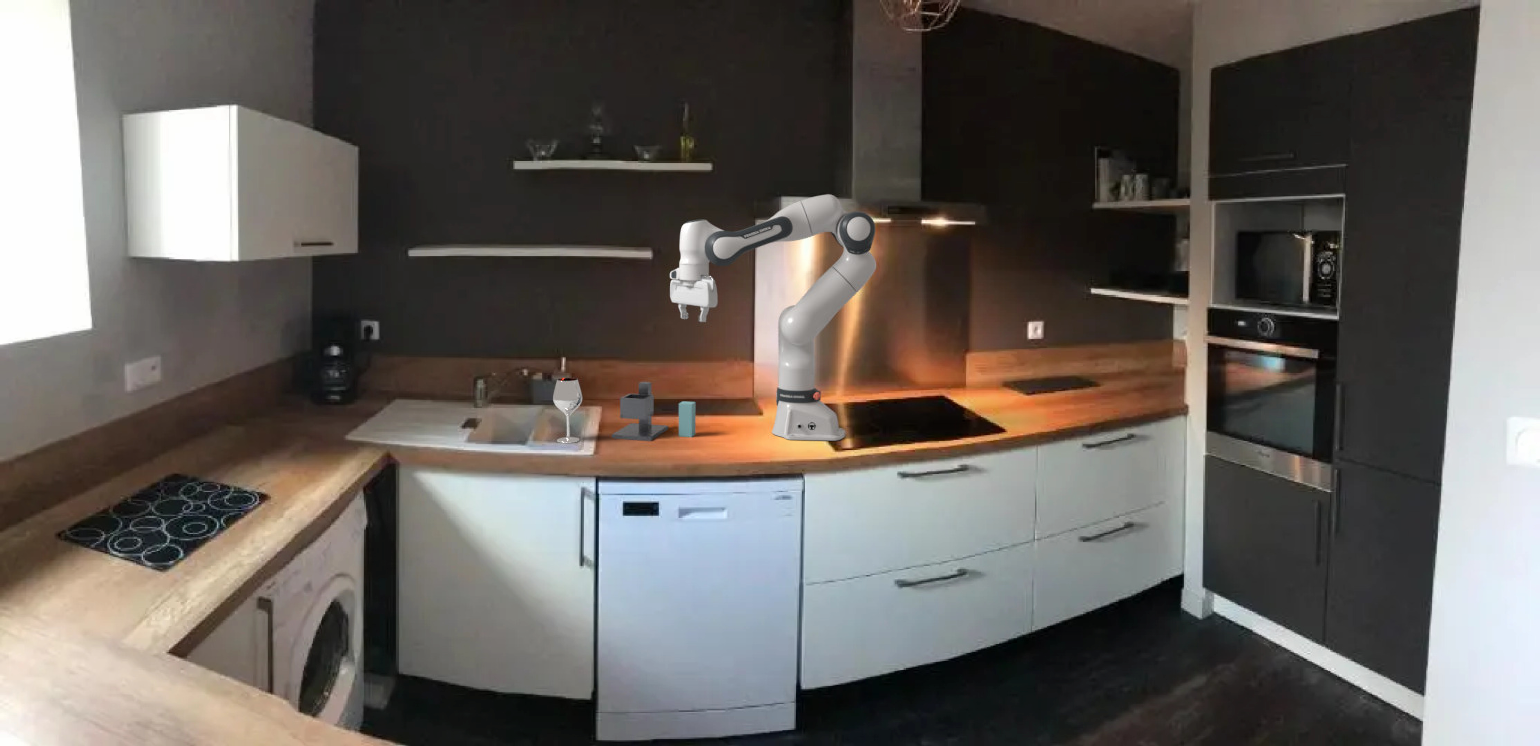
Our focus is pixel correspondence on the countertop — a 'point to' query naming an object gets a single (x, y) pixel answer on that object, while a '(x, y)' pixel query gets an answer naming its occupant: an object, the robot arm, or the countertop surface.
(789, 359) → the robot arm
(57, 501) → the countertop surface
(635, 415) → the stand
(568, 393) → the wineglass
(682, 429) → the teal rectangular block
